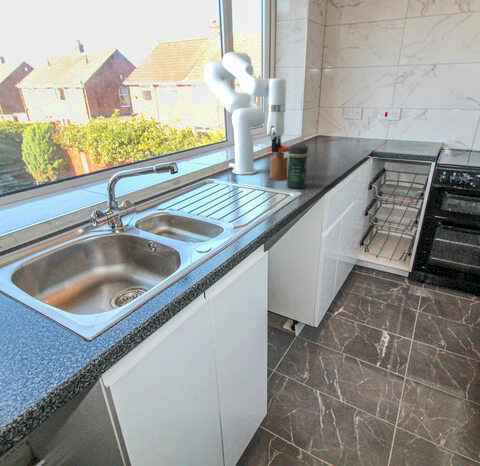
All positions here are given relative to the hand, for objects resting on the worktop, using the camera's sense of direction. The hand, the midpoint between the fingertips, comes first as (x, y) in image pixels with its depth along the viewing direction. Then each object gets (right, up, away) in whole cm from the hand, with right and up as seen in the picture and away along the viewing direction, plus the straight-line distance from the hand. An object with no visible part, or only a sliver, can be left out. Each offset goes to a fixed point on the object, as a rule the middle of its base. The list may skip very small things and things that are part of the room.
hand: (276, 151), depth 152 cm
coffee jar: (+9, -17, -4) cm, 20 cm away
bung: (+2, +1, +3) cm, 4 cm away
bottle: (+2, -11, +9) cm, 14 cm away
